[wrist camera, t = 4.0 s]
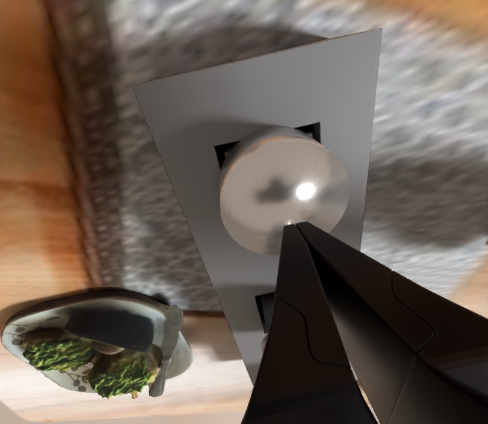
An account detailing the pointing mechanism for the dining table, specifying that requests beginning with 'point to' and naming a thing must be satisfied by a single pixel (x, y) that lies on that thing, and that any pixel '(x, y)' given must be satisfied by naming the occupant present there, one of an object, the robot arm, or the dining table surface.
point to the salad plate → (102, 342)
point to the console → (250, 120)
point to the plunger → (279, 186)
